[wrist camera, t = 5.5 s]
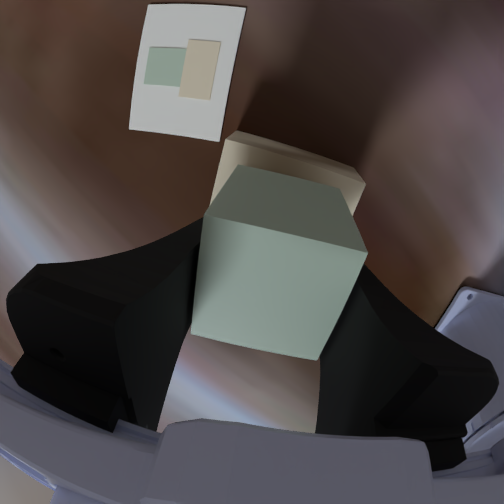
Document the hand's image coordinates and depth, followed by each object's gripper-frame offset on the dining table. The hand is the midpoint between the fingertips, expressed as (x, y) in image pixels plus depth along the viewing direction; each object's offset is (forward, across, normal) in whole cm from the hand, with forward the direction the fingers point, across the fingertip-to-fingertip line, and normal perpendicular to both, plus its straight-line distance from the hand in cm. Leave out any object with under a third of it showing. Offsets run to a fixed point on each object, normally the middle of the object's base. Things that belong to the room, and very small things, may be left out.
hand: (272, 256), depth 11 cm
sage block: (+2, 0, 0) cm, 2 cm away
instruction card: (+5, +6, -6) cm, 10 cm away
